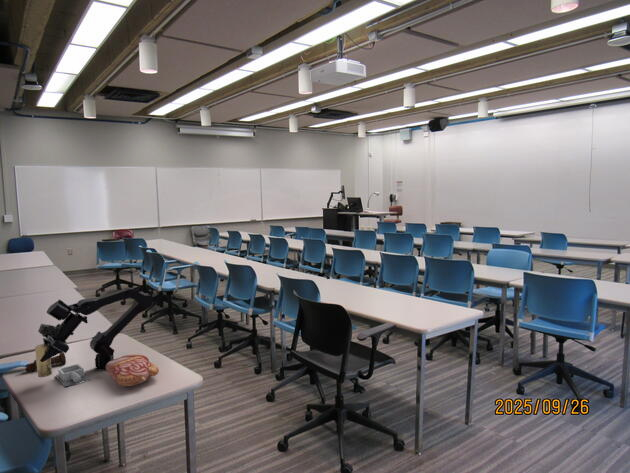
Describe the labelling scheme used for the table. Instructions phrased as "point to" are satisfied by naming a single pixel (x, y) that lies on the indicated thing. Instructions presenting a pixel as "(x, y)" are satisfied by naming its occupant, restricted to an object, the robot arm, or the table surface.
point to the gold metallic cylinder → (42, 367)
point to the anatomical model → (131, 369)
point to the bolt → (54, 360)
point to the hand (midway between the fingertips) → (39, 359)
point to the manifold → (71, 375)
